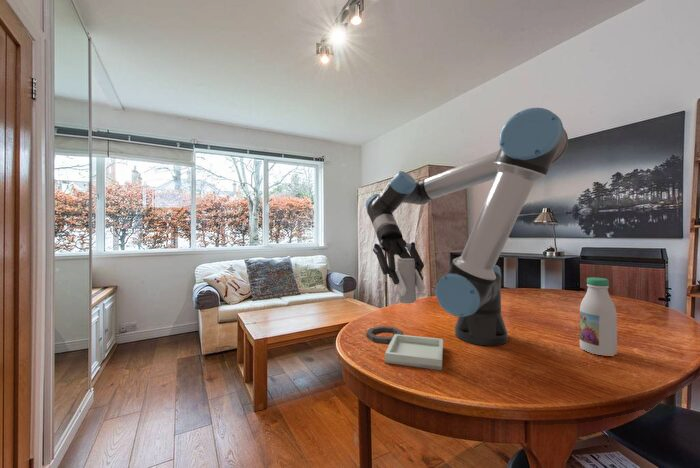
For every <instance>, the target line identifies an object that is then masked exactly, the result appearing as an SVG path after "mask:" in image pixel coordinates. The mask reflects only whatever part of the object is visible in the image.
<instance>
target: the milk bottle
mask: <svg viewBox="0 0 700 468" xmlns="http://www.w3.org/2000/svg"><path fill="white" fill-rule="evenodd" d="M609 285H610V279H608V278H604V277H603V278H602V277H593V276H591V277H586V286H587V290H586V293H585V295H584V296H583V298H582V300H581V302H580V306H579V348H580V349H581V350H582V349H583V350H585V351H587V352H590V353H594V354H599V355H614V354H616V355H617V354H618V317H617V309H616V305H615V304H614V302H613V299H612V298H611V296H610V293H609V288H610V287H609ZM583 350H582V351H583ZM585 351H584V352H585ZM587 352H586V353H587ZM590 353H589V354H590Z"/></svg>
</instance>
